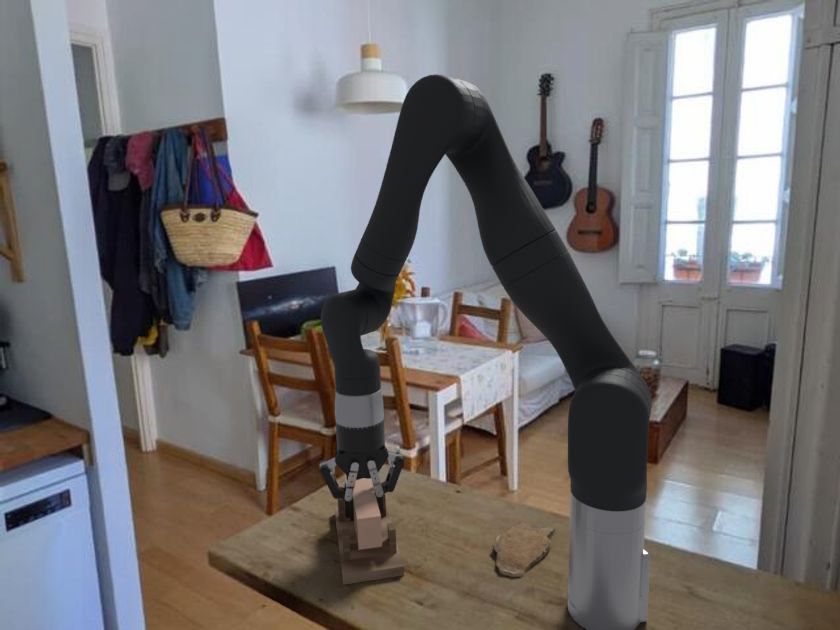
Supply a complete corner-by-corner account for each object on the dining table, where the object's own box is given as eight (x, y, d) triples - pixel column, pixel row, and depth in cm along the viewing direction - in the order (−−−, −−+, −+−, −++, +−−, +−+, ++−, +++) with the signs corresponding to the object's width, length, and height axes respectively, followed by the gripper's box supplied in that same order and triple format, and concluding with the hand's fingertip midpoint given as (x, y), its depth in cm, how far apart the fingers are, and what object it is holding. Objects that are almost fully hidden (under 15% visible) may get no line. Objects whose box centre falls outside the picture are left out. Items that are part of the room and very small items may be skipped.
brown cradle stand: (334, 514, 104) (333, 485, 103) (384, 507, 106) (383, 479, 105) (343, 584, 85) (341, 550, 84) (404, 575, 86) (402, 541, 85)
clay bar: (369, 494, 102) (368, 468, 101) (382, 546, 87) (380, 515, 86) (349, 497, 102) (348, 470, 101) (358, 549, 86) (357, 519, 85)
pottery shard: (538, 593, 84) (557, 531, 97) (538, 579, 84) (557, 517, 97) (482, 581, 88) (508, 521, 101) (482, 566, 87) (508, 509, 100)
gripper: (314, 430, 86) (321, 535, 89) (408, 420, 89) (411, 523, 92) (313, 412, 93) (319, 510, 97) (400, 404, 96) (403, 500, 99)
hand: (364, 516), depth 94 cm, fingers closed on clay bar, 3 cm apart
